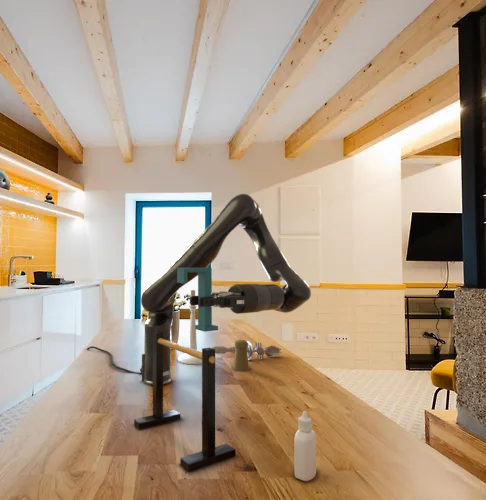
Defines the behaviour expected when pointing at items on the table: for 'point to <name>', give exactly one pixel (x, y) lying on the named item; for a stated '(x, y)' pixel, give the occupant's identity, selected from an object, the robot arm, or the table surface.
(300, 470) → the eye dropper bottle
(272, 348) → the ornate silver scepter
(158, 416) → the rack
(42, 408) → the table surface
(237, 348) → the cork
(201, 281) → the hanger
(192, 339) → the candlestick
